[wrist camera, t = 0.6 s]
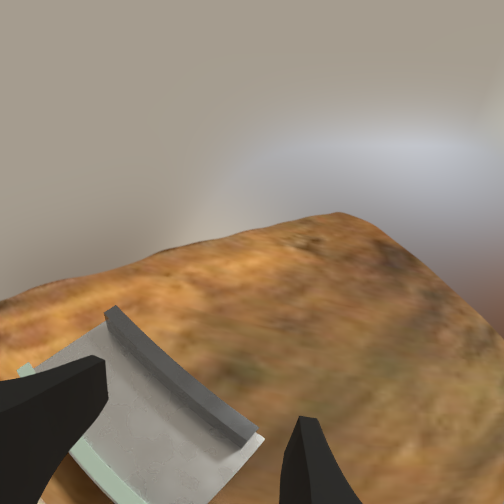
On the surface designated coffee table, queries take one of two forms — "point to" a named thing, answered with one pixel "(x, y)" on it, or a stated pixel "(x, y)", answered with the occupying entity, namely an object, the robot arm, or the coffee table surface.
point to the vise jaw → (97, 464)
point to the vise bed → (158, 419)
